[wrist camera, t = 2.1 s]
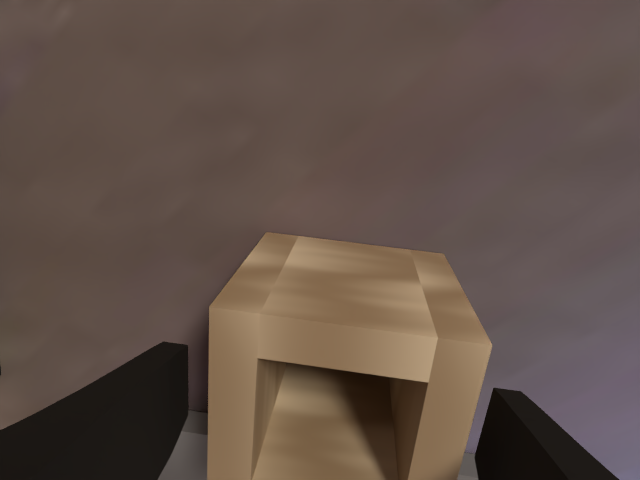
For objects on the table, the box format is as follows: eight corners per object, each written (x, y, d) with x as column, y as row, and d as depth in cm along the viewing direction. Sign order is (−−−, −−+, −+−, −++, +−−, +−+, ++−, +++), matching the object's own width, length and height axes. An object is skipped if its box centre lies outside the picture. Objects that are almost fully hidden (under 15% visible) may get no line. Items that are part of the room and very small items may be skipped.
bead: (443, 253, 12) (492, 345, 8) (413, 401, 14) (438, 550, 9) (266, 231, 13) (209, 306, 8) (258, 379, 15) (207, 511, 10)
